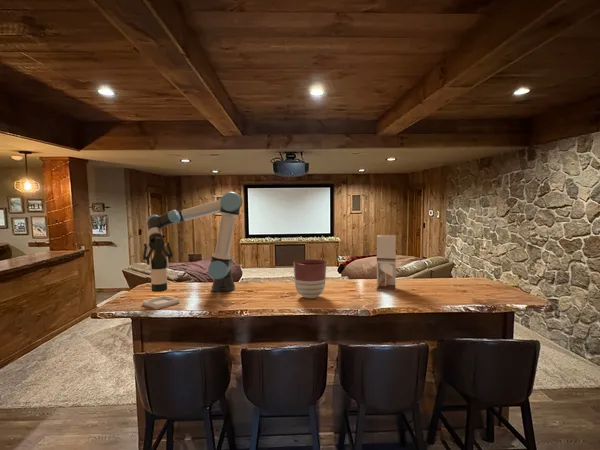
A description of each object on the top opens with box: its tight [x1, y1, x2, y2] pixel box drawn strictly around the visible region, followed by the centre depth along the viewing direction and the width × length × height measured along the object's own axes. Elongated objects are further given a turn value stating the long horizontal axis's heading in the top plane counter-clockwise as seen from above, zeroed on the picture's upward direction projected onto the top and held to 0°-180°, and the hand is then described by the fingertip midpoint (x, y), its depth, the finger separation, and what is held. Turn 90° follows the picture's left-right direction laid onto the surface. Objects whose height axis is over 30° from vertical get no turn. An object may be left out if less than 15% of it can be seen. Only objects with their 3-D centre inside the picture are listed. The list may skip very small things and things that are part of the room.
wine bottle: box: [150, 237, 168, 293], centre depth 188 cm, size 8×8×30 cm
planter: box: [293, 259, 327, 300], centre depth 199 cm, size 20×20×21 cm
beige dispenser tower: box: [376, 234, 397, 293], centre depth 217 cm, size 11×11×35 cm
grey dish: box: [141, 294, 180, 310], centre depth 189 cm, size 14×14×2 cm
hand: (159, 267), depth 185 cm, fingers closed on wine bottle, 8 cm apart
